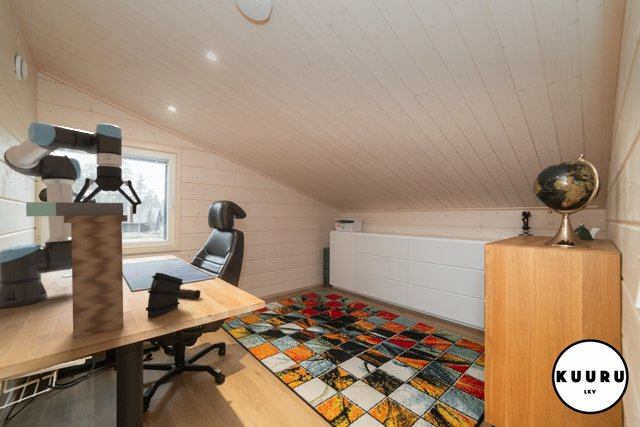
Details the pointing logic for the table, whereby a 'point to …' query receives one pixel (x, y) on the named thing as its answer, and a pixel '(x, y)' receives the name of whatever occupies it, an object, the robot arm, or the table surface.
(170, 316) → the table surface
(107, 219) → the walnut stand
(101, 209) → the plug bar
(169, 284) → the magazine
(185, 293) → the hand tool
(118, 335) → the table surface
